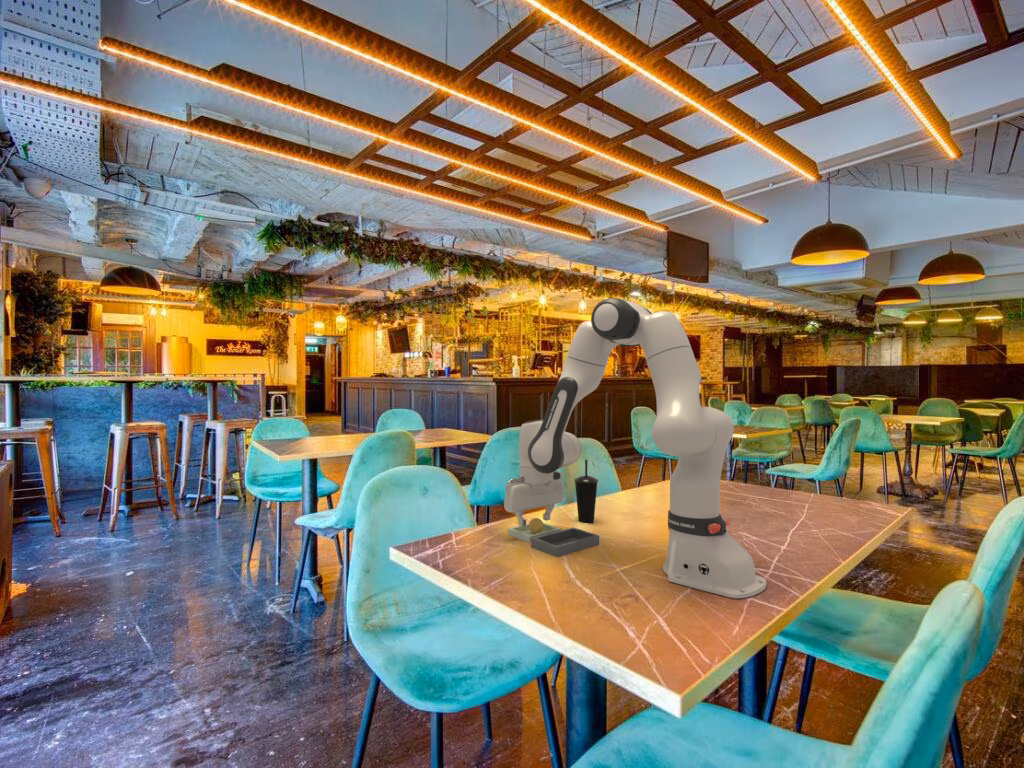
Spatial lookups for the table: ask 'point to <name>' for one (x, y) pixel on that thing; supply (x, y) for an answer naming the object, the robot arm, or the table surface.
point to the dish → (564, 541)
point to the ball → (536, 525)
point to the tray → (526, 534)
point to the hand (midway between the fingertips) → (534, 522)
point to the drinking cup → (586, 497)
